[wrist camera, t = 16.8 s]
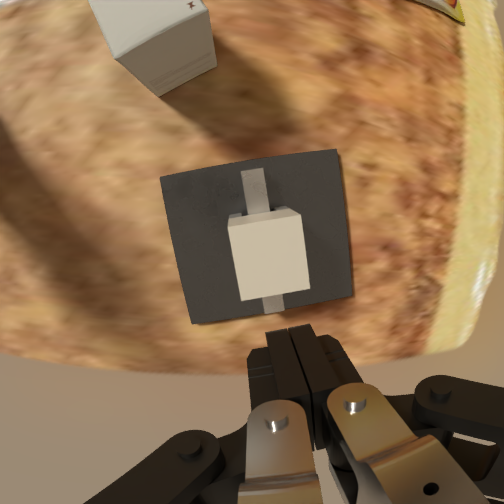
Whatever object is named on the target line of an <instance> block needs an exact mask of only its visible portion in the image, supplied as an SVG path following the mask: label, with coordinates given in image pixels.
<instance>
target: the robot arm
mask: <svg viewBox="0 0 504 504" xmlns="http://www.w3.org/2000/svg"><path fill="white" fill-rule="evenodd" d="M265 334H266V340H267V346H268V347H263V348H257V349H252V351H251V352H250V354H249V356H248V358H247V368H248V378H249V389H250V399H251V413H250V415H249V417H248V421H247V423H246V424H245V425H244V426H243V427H242V428H240V429H239V430H237V431H235V432H233V433H231V434H228V435H226V436H223V437H220V438H216V437H215V436H214V435H213V434H211V433H209V432H206V431H202V430H189V431H184V432H181V433H178V434H176V435H174V436H173V437H171V438H170V439H169V440H167V441H166V442H165V443H164V444H163V445H161V446H160V447H159V448H158V449H156V450H155V451H154V452H153V453H151V454H150V455H149V456H147V457H146V458H145V459H144V460H142V461H141V462H140V463H139V464H137V465H136V466H135V467H133V468H132V469H131V470H129V471H128V472H127V473H125V474H124V475H123V476H121V477H120V478H119V479H117V480H116V481H115V482H113V483H112V484H110V485H109V486H108V487H106V488H105V489H103V490H102V491H101V492H99V493H98V494H97V495H95V496H93V497H92V498H91V499H89V500H88V501H86V502H85V503H84V504H323V500H322V495H321V488H320V483H319V478H318V475H317V474H316V470H315V464H314V459H313V453H312V451H314V443H315V446H316V449H317V450H320V449H324V448H326V450H327V453H328V456H329V469H330V472H331V474H332V476H333V478H334V481H335V483H336V485H337V487H338V490H339V492H340V494H341V496H342V499H343V501H344V503H345V504H504V502H502V501H498V500H494V499H489V498H486V497H485V496H484V495H486V496H491V497H495V498H500V499H504V388H502V387H498V386H493V385H488V384H483V383H478V382H474V381H469V380H464V379H460V378H456V377H451V376H446V375H436V376H431V377H428V378H426V379H424V380H422V381H421V382H420V383H419V384H418V385H417V386H416V388H415V393H414V394H408V395H398V396H386V395H383V394H382V393H381V392H380V391H379V390H378V389H377V388H376V387H374V386H372V385H370V384H366V383H364V382H363V380H362V379H361V377H360V375H359V374H358V372H357V370H356V369H355V367H354V365H353V364H352V362H351V361H350V359H349V358H348V356H347V354H346V352H345V351H344V350H343V348H342V346H341V344H340V343H339V341H338V340H337V339H335V338H333V337H331V336H330V335H328V334H327V335H322V336H318V337H316V335H315V333H314V331H313V329H312V327H311V325H310V324H305V325H300V326H295V327H290V328H288V330H287V328H286V329H281V330H275V331H270V332H265ZM454 432H455V433H459V434H463V435H467V436H471V437H474V438H478V439H483V440H487V441H492V442H494V443H496V444H495V445H491V446H487V445H483V444H478V443H475V442H471V441H466V440H463V439H459V438H456V437H453V434H454Z"/></svg>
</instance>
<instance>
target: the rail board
mask: <svg viewBox="0 0 504 504" xmlns="http://www.w3.org/2000/svg"><path fill="white" fill-rule="evenodd" d="M160 182H161V188H162V193H163V199H164V204H165V209H166V214H167V219H168V224H169V229H170V234H171V239H172V243H173V248H174V253H175V257H176V262H177V266H178V270H179V275H180V279H181V283H182V287H183V292H184V296H185V300H186V304H187V308H188V312H189V316H190V319H191V323H192V324H198V323H205V322H212V321H218V320H225V319H231V318H237V317H243V316H249V315H255V314H261V313H265V314H269V313H274V312H280V311H285V309H289V308H294V307H299V306H304V305H309V304H314V303H319V302H324V301H329V300H334V299H339V298H343V297H348V296H352V285H351V270H350V257H349V245H348V235H347V225H346V215H345V207H344V198H343V190H342V183H341V176H340V169H339V162H338V155H337V149H330V150H320V151H312V152H303V153H295V154H288V155H280V156H273V157H266V158H260V159H253V160H247V161H241V162H235V163H229V164H223V165H218V166H212V167H207V168H202V169H196V170H191V171H186V172H181V173H177V174H172V175H167V176H163V177H160ZM280 206H286V207H288V208H290V209H292V210H293V211H295V212H297V213H299V214H300V215H301V219H302V227H303V234H304V242H305V250H306V258H307V266H308V274H309V283H310V289H305V290H300V291H295V292H289V293H284V294H278V295H273V296H267V297H262V298H256V299H250V300H244V301H241V297H240V291H239V286H238V281H237V276H236V270H235V265H234V260H233V254H232V249H231V243H230V238H229V232H228V220H229V215H232V214H238V213H241V214H242V216H247V215H253V214H259V213H264V212H271V211H274V210H273V208H274V207H280Z"/></svg>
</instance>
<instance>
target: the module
mask: <svg viewBox="0 0 504 504" xmlns="http://www.w3.org/2000/svg"><path fill="white" fill-rule="evenodd" d="M273 210H274V211H271V212H264V213H259V214H253V215H247V216H242V214H241V213H238V214H232V215H229V220H228V232H229V238H230V243H231V249H232V254H233V260H234V265H235V270H236V276H237V281H238V286H239V291H240V297H241V301H244V300H250V299H256V298H262V297H267V296H273V295H278V294H284V293H289V292H295V291H300V290H305V289H310V283H309V274H308V266H307V258H306V250H305V242H304V234H303V227H302V219H301V215H300V214H299V213H297V212H295V211H293V210H292V209H290V208H288V207H286V206H280V207H274V208H273Z"/></svg>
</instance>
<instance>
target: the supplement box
mask: <svg viewBox="0 0 504 504" xmlns="http://www.w3.org/2000/svg"><path fill="white" fill-rule="evenodd" d="M88 2H89V4H90V6H91V8H92V10H93V13H94V15H95V17H96V19H97V22H98V24H99V26H100V29H101V31H102V33H103V36H104V38H105V40H106V42H107V45H108V47H109V49H110V51H111V54H112V56H113V58H114V59H115V60H116V61H118V62H119V63H120V64H122V65H123V66H124V67H125V68H126V69H127V70H128V71H129V72H131V73H132V74H133V75H134V76H135V77H136V78H137V79H138V80H139V81H140V82H141V83H142V84H143V85H144V86H146V87H147V88H148V89H149V90H150V91H151V92H152V93H154V94H155V95H156V96H157V97H160V96H161V95H163V94H165V93H167V92H169V91H170V90H172V89H174V88H176V87H178V86H179V85H181V84H183V83H185V82H187V81H189V80H191V79H192V78H194V77H196V76H198V75H200V74H202V73H204V72H206V71H208V70H210V69H212V68H214V67H217V59H216V53H215V48H214V41H213V35H212V29H211V23H210V17H209V11H208V9H207V7H206V6H205V4H204V3H203V2H202V0H88Z"/></svg>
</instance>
